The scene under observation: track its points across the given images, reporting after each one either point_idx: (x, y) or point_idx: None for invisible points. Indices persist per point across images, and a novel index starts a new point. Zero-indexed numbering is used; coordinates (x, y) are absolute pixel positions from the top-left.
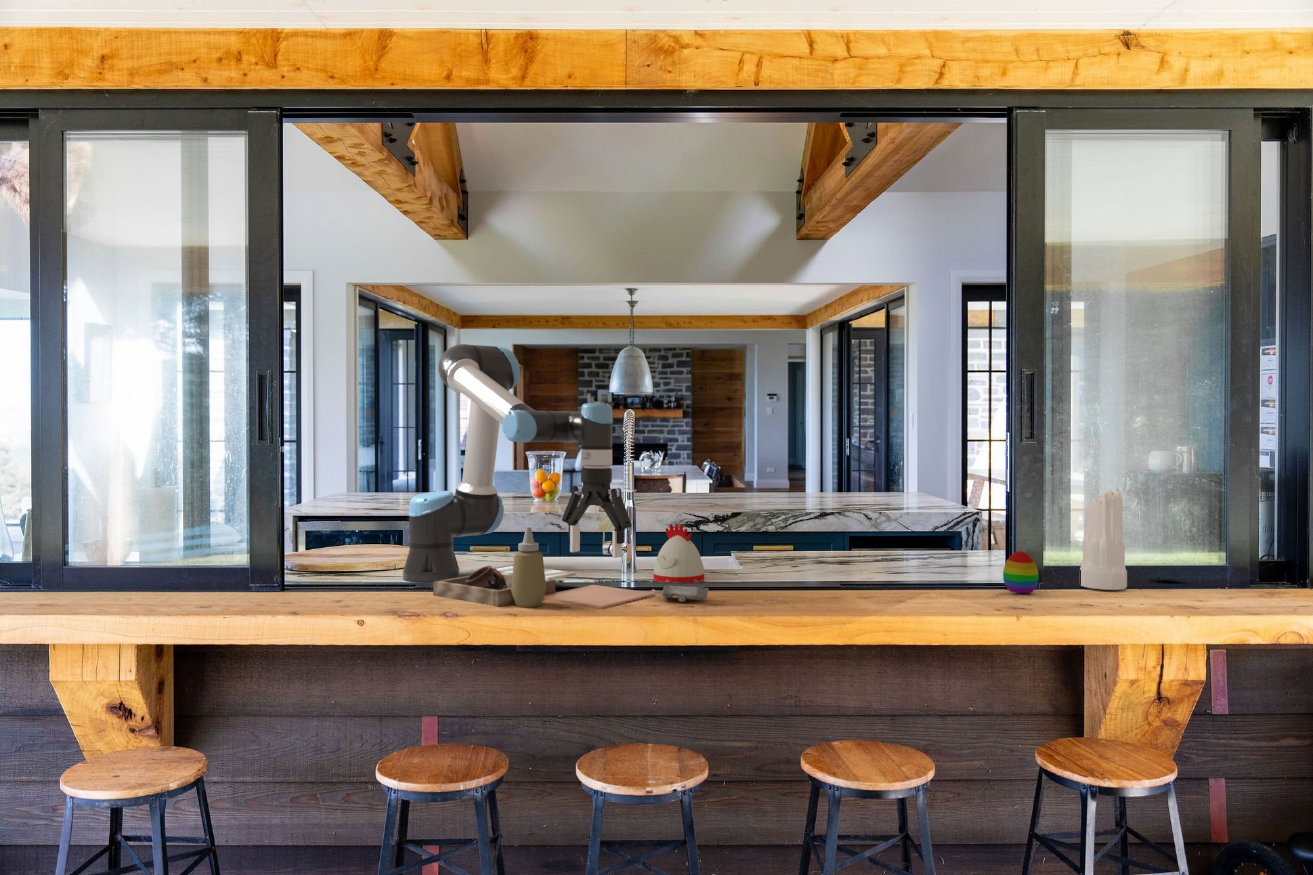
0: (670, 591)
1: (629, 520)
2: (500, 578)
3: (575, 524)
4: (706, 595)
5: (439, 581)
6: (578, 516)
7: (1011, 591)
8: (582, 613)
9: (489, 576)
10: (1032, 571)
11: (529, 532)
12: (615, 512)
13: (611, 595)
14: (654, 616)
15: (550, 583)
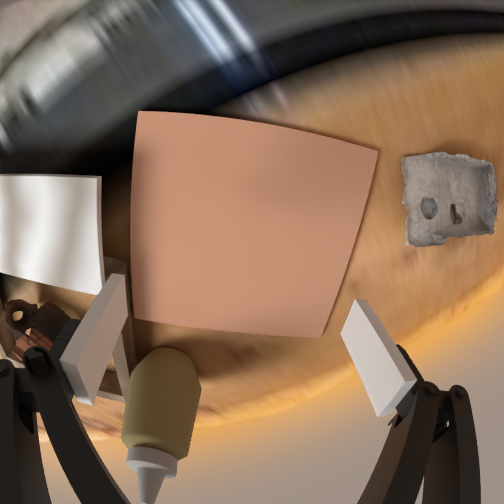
0: (444, 234)
1: (468, 411)
2: (39, 330)
3: (65, 377)
4: (483, 175)
5: (5, 358)
6: (90, 442)
7: None
8: (303, 370)
9: None
10: None
11: (156, 496)
12: (417, 471)
13: (286, 232)
14: (418, 330)
15: None
